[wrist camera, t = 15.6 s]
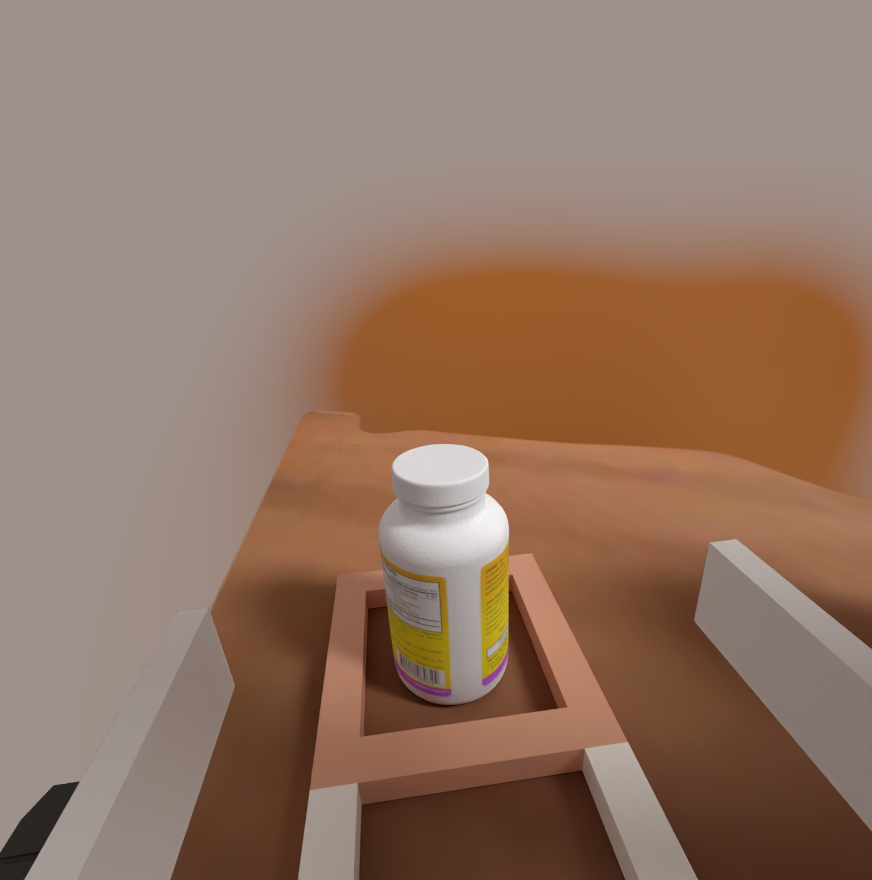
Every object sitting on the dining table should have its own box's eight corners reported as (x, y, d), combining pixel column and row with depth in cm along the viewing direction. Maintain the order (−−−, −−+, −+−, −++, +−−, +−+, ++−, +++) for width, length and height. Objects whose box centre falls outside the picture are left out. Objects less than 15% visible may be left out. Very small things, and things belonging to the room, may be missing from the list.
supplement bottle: (489, 610, 30) (488, 430, 25) (524, 697, 24) (532, 484, 19) (388, 627, 29) (368, 443, 24) (400, 723, 23) (375, 505, 18)
